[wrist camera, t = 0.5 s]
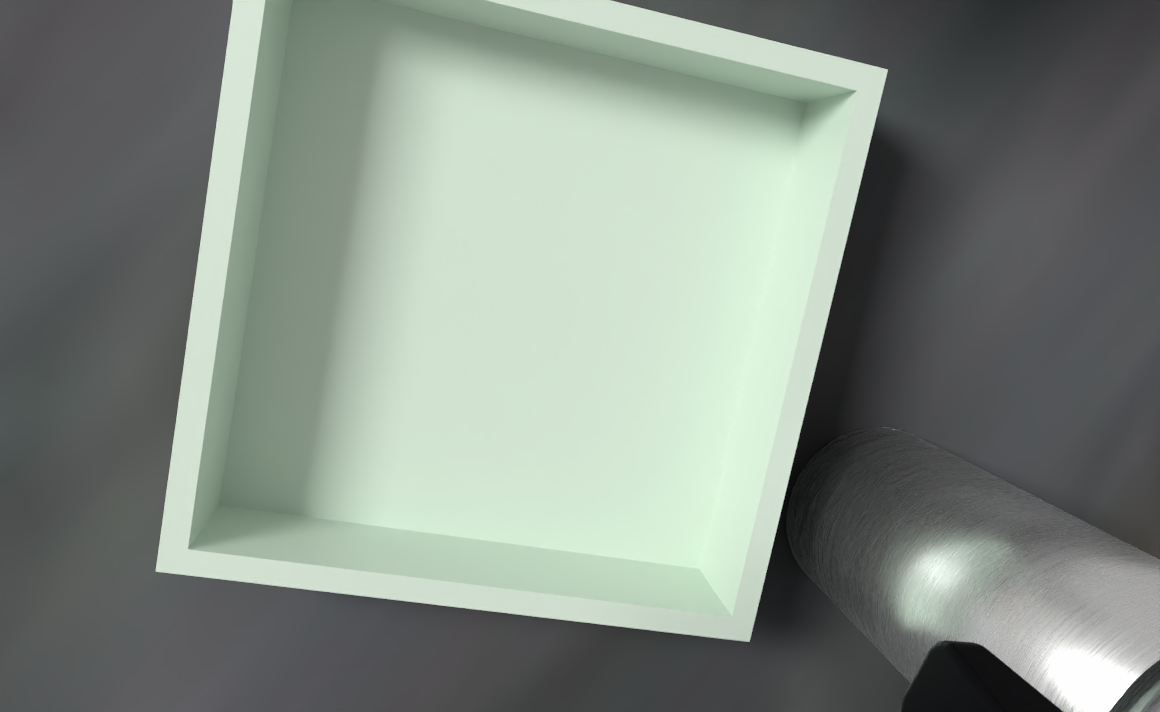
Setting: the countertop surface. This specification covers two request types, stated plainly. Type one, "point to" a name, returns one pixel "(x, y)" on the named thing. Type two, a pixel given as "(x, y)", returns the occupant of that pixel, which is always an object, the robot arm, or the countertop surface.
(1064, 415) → the countertop surface
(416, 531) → the tray
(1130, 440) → the countertop surface
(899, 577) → the steel canister
